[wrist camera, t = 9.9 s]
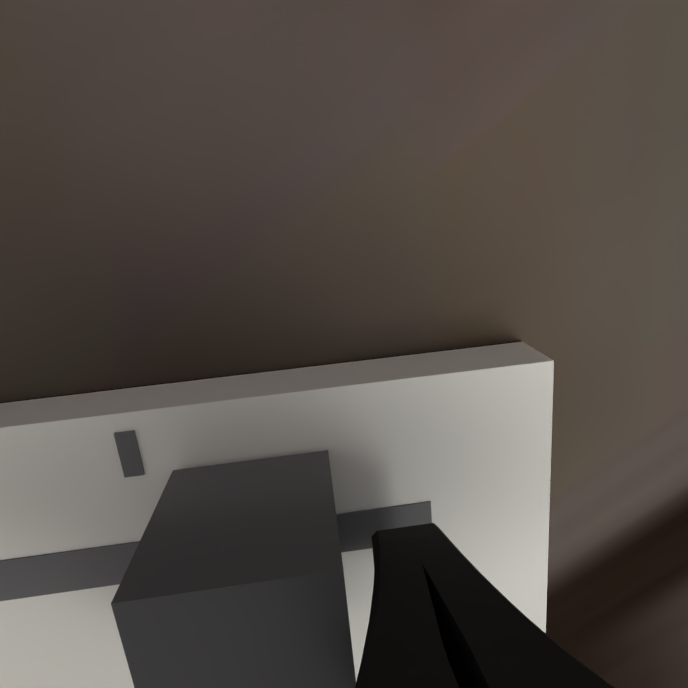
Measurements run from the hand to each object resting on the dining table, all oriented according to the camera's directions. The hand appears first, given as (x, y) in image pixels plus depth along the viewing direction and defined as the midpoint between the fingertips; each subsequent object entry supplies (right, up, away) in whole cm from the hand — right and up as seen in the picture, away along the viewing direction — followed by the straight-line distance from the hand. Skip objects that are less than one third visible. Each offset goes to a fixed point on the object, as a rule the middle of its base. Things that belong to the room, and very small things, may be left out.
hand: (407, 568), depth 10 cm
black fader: (-3, 0, +1) cm, 3 cm away
